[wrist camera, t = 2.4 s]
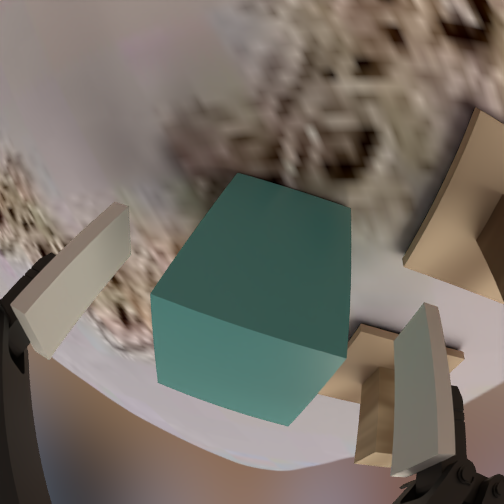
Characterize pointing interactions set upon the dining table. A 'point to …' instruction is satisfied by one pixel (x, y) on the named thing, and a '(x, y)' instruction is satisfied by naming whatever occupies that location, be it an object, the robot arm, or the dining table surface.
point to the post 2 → (467, 216)
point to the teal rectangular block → (257, 301)
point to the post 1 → (373, 390)
